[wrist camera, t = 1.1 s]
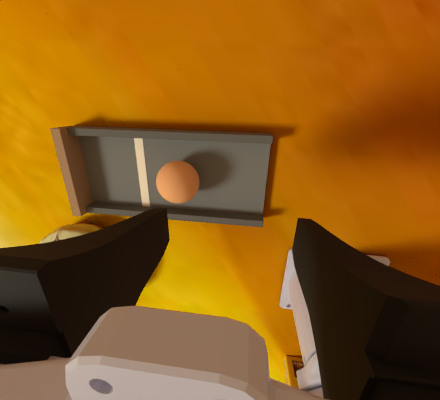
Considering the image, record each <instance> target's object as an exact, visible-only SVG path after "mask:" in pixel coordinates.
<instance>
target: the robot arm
mask: <svg viewBox="0 0 440 400" xmlns="http://www.w3.org/2000/svg"><path fill="white" fill-rule="evenodd" d="M168 242H169V230H168V217H167V208H158V207H156V208H152V209H150V210H147V211H145V212H142V213H140V214H138V215H136V216H133V217H131V218H129V219H126V220H124V221H121V222H119V223H116V224H114V225H111V226H109V227H106V228H103V229H100V230H97V231H94V232H91V233H87V234H83V235H79V236H75V237H71V238H67V239H63V240H58V241H52V242H47V243H40V244H34V245H27V246H17V247H8V248H0V400H440V286H438V285H435V284H432V283H429V282H427V281H424V280H421V279H418V278H416V277H413V276H411V275H408V274H406V273H403V272H401V271H399V270H396V269H394V268H392V267H389V265H390V260H389V259H388V258H387V257H385V256H374V255H365V254H363V253H361V252H360V251H358V250H356V249H355V248H353V247H351V246H350V245H348V244H347V243H345V242H343V241H342V240H340V239H339V238H337V237H336V236H334V235H333V234H332V233H330V232H329V231H327V230H326V229H325V228H323V227H322V226H320V225H319V224H318V223H316V222H315V221H313V220H311V219H304V218H298V221H297V227H296V232H295V238H294V243H293V248H292V249H290V250H289V252H288V257H287V262H286V268H285V274H284V280H283V285H282V291H281V297H280V302H279V303H280V307H281V308H285V309H292V310H293V315H294V320H295V325H296V329H297V334H298V339H299V344H300V349H301V354H302V359H303V363H304V367H303V368H302V369H300V370H297V371H296V373H297V379H298V385H299V389H297V388H295V387H292V386H289V385H287V384H284V383H282V382H279V381H276V380H274V379H271V378H269V365H268V353H267V349H266V345H265V341H264V338H262V337H261V336H260V335H259V334H258V333H257V332H256V331H255V330H253V329H252V328H251V327H250V326H249V325H247V324H245V323H242V322H239V321H236V320H233V319H230V318H227V317H219V316H211V315H203V314H195V313H188V312H180V311H172V310H164V309H156V308H148V307H140V306H135V305H136V303H137V300H138V298H139V296H140V294H141V292H142V290H143V288H144V287H145V285H146V283H147V282H148V280H149V278H150V277H151V275H152V273H153V272H154V270H155V268H156V267H157V265H158V263H159V261H160V260H161V258H162V256H163V254H164V252H165V250H166V247H167V245H168ZM288 304H290V305H288Z"/></svg>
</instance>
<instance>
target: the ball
mask: <svg viewBox="0 0 440 400" xmlns="http://www.w3.org/2000/svg"><path fill="white" fill-rule="evenodd" d="M156 186H157V189H158V191H159V193H160V195H161V196H162V197H163V198H164V199H166V200H167V201H169V202H172V203H184V202H187V201H189V200H191V199H192V198H193V197H194V196H195V195H196V193H197V191H198V189H199V176H198V173H197V171H196V170H195V169H194V167H193V166H191V165H190V164H188V163H186V162H184V161H171V162H169V163H167V164H165V165H164V166H163V167H162V168H161V169H160V170H159V172H158V174H157V178H156Z"/></svg>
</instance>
